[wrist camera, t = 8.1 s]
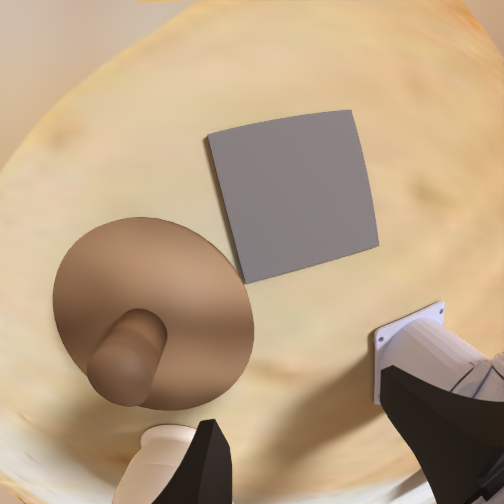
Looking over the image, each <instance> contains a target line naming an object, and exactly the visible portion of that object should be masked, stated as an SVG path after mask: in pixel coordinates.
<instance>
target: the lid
mask: <svg viewBox="0 0 504 504" xmlns="http://www.w3.org/2000/svg"><path fill="white" fill-rule="evenodd" d="M53 310H54V317H55V322H56V325H57V329H58V332H59V335H60V337H61V340H62V342H63V344H64V346H65V348H66V350H67V351H68V353H69V355H70V356H71V358H72V359H73V361H74V362H75V363H76V365H77V366H78V367H79V368H80V369H81V371H82V372H83V373H84V374H85V375H86V376H87V377H88V379H89V381H90V383H91V385H92V386H93V388H94V389H95V390H96V391H97V392H98V393H99V394H100V395H101V396H102V397H104V398H105V399H107V400H108V401H110V402H112V403H115V404H118V405H121V406H140V407H144V408H149V409H154V410H182V409H189V408H193V407H197V406H200V405H203V404H205V403H208V402H210V401H212V400H214V399H215V398H217V397H219V396H220V395H222V394H223V393H224V392H226V391H227V390H228V389H229V388H230V387H231V386H232V385H233V384H234V383H235V382H236V381H237V380H238V379H239V377H240V376H241V374H242V373H243V371H244V369H245V367H246V366H247V364H248V361H249V358H250V355H251V352H252V348H253V342H254V322H253V315H252V309H251V305H250V301H249V298H248V294H247V291H246V289H245V287H244V285H243V282H242V280H241V278H240V277H239V275H238V273H237V272H236V270H235V268H234V267H233V266H232V264H231V263H230V262H229V261H228V259H227V258H226V257H225V256H224V255H223V254H222V253H221V252H220V251H219V250H218V249H217V248H216V247H215V246H214V245H213V244H212V243H210V242H209V241H207V240H206V239H205V238H203V237H202V236H201V235H199V234H197V233H195V232H194V231H192V230H190V229H188V228H186V227H184V226H181V225H179V224H176V223H173V222H170V221H166V220H162V219H157V218H147V217H136V218H126V219H121V220H116V221H113V222H110V223H107V224H104V225H102V226H99V227H97V228H95V229H93V230H91V231H90V232H88V233H86V234H85V235H84V236H82V237H81V238H80V239H79V240H78V241H76V242H75V244H74V245H73V246H72V247H71V248H70V249H69V250H68V252H67V253H66V255H65V257H64V258H63V260H62V262H61V264H60V266H59V269H58V271H57V274H56V278H55V282H54V289H53Z"/></svg>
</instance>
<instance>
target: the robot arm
mask: <svg viewBox="0 0 504 504" xmlns="http://www.w3.org/2000/svg"><path fill="white" fill-rule="evenodd" d="M444 311H445V303H444V302H443V301H438V302H436V303H434V304H432V305H430V306H428V307H426V308H424V309H422V310H420V311H417V312H415V313H413V314H411V315H409V316H406V317H404V318H402V319H400V320H397V321H395V322H393V323H390V324H388V325H385V326H383V327H380V328H378V329H377V330H376V331H375V333H374V347H375V384H374V403H375V405H380V404H381V405H382V407H383V409H384V411H385V413H386V414H387V416H388V418H389V419H390V421H391V422H392V424H393V425H394V426H395V428H396V429H397V431H398V432H399V433H400V435H401V436H402V437H403V439H404V440H405V442H406V443H407V444H408V446H409V447H410V448H411V450H412V451H413V453H414V455H415V456H416V458H417V460H418V462H419V464H420V466H421V468H422V469H423V472H424V474H425V476H426V478H427V480H428V482H429V484H430V487H431V489H432V492H433V494H434V497H435V499H436V502H437V504H504V352H502V353H498V354H496V355H495V356H494V358H493V360H490V359H489V358H488V357H486V356H485V355H484V354H482V353H481V352H479V351H478V350H477V349H475V348H474V347H473V346H471V345H470V344H468V343H467V342H466V341H464V340H463V339H461V338H460V337H459V336H457V335H456V334H454V333H453V332H452V331H450V330H449V329H447V328H446V327H444V326H443V323H444ZM379 338H381V339H380V340H379ZM151 504H232V461H231V454H230V447H229V444H228V442H227V440H226V439H225V437H224V435H223V433H222V431H221V429H220V428H219V426H218V424H217V422H216V420H215V419H210V420H203V421H200V423H199V425H198V427H197V430H196V432H195V434H194V437H193V439H192V441H191V443H190V446H189V448H188V450H187V452H186V454H185V455H184V457H183V459H182V461H181V463H180V465H179V466H178V468H177V470H176V471H175V473H174V475H173V476H172V478H171V479H170V481H169V482H168V484H167V485H166V486H165V488H164V489H163V490H162V492H161V493H160V494H159V495H158V497H157V498H156V499H155V500H154V501H153V502H152V503H151Z"/></svg>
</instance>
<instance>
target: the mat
mask: <svg viewBox="0 0 504 504" xmlns="http://www.w3.org/2000/svg"><path fill="white" fill-rule="evenodd" d="M207 135H208V139H209V143H210V147H211V151H212V155H213V159H214V163H215V167H216V171H217V175H218V179H219V183H220V187H221V190H222V194H223V198H224V202H225V206H226V210H227V214H228V218H229V221H230V225H231V229H232V233H233V237H234V240H235V244H236V248H237V252H238V256H239V259H240V263H241V267H242V271H243V274H244V278H245V282H246V283H250V282H254V281H258V280H261V279H265V278H269V277H273V276H276V275H280V274H284V273H287V272H291V271H294V270H298V269H302V268H305V267H309V266H312V265H316V264H319V263H323V262H326V261H330V260H333V259H337V258H340V257H344V256H347V255H350V254H354V253H357V252H361V251H364V250H367V249H370V248H374V247H377V246H379V241H378V233H377V226H376V219H375V213H374V207H373V201H372V195H371V190H370V185H369V180H368V175H367V170H366V166H365V161H364V157H363V152H362V148H361V144H360V140H359V136H358V133H357V129H356V125H355V122H354V118H353V115H352V111H351V110H341V111H331V112H323V113H314V114H307V115H300V116H293V117H287V118H281V119H275V120H270V121H264V122H259V123H254V124H250V125H245V126H240V127H236V128H231V129H227V130H223V131H219V132H215V133H211V134H207Z"/></svg>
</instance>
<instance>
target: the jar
mask: <svg viewBox="0 0 504 504" xmlns="http://www.w3.org/2000/svg"><path fill="white" fill-rule="evenodd" d="M196 430H197V429H194V428H191V427H186V426H180V425H160V426H156V427H153V428H150V429H148V430H147V431H146V432H145V433H144V434H143V435H142V437H141V448H142V449H140V450H139V451H138V452H137V453H136V454H135V456H134V457H133V458H132V460H131V461H130V463H129V465H128V467H127V469H126V472H125V473H124V475H123V477H122V479H121V481H120V482H119V485H118V487H117V489H116V492H115V494H114V497H113V501H112V504H151V503H152V502H153V501H154V500H155V499H156V498H157V497H158V495H159V494H160V493H161V492H162V490H163V489H164V488H165V486H166V485H167V484H168V482H169V481H170V479H171V478H172V476H173V475H174V473H175V471H176V470H177V468H178V466H179V465H180V463H181V461H182V459H183V457H184V455H185V454H186V452H187V450H188V448H189V446H190V443H191V441H192V439H193V437H194V434H195V432H196ZM232 504H233V500H232Z"/></svg>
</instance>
